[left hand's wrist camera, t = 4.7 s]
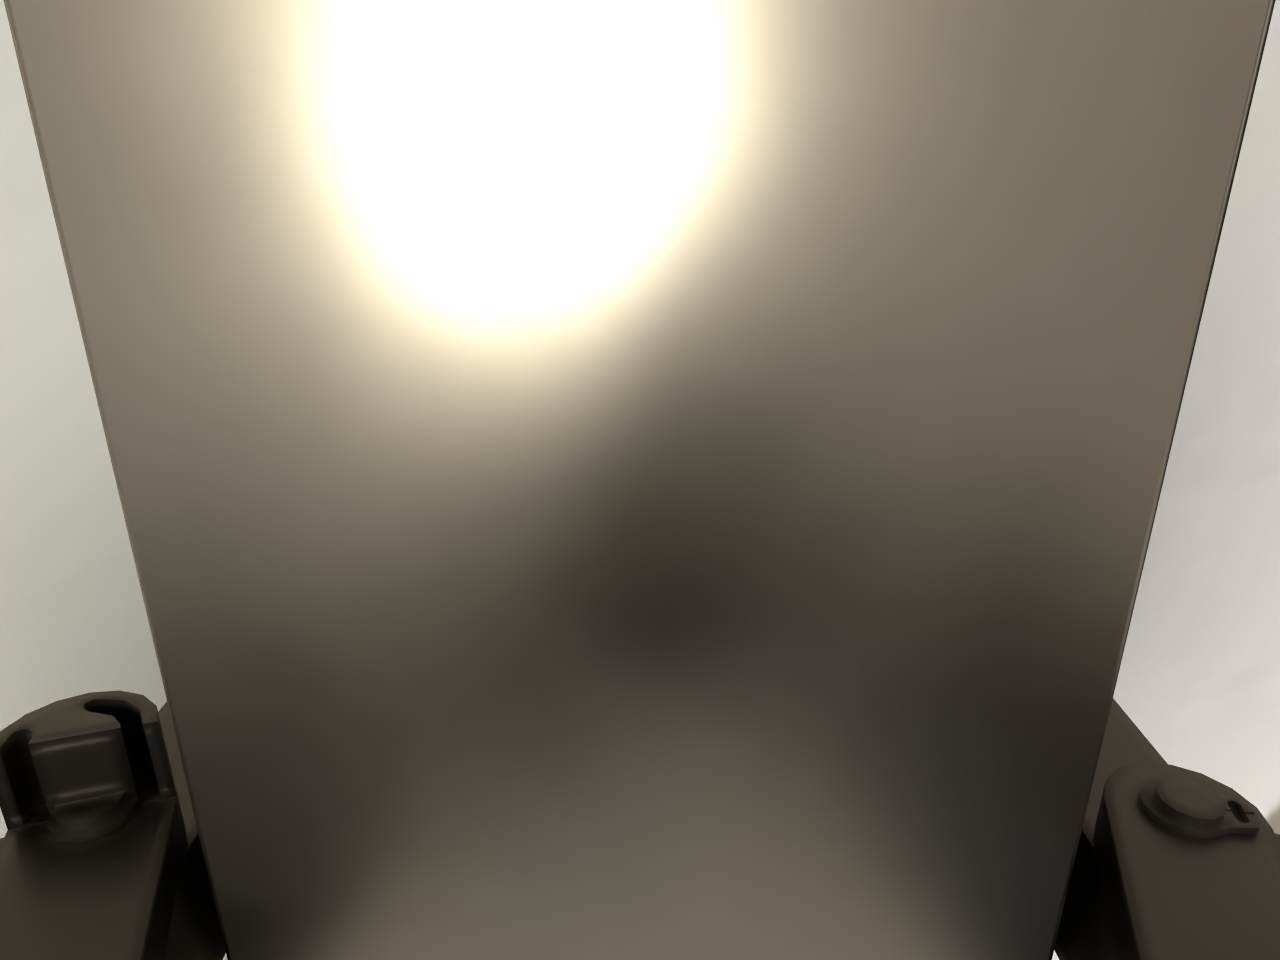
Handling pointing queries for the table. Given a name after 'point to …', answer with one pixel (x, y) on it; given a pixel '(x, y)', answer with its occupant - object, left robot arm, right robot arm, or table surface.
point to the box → (639, 445)
